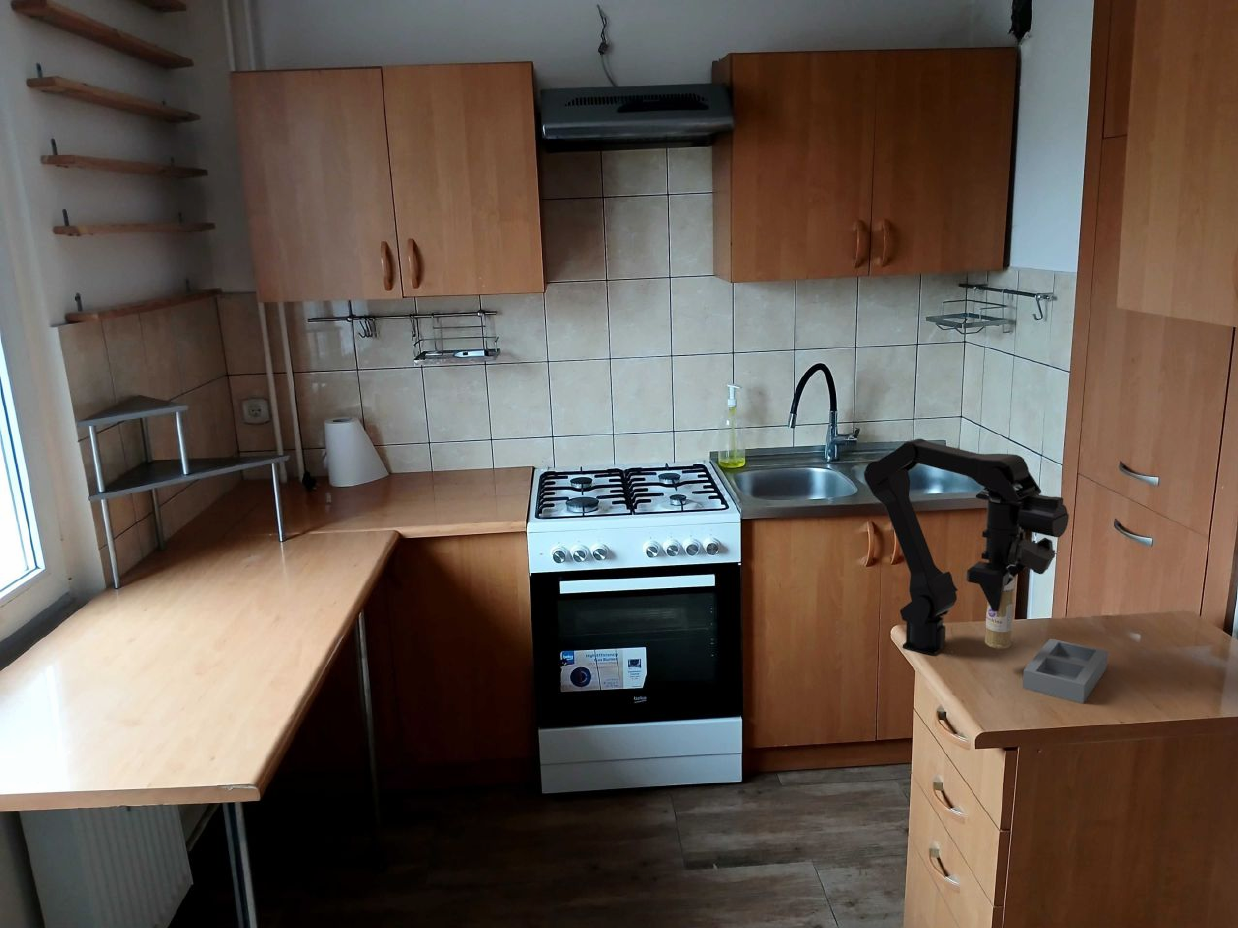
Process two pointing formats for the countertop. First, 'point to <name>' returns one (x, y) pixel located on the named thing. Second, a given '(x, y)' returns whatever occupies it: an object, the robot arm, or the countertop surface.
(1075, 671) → the slot caddy
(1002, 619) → the sprinkles bottle
